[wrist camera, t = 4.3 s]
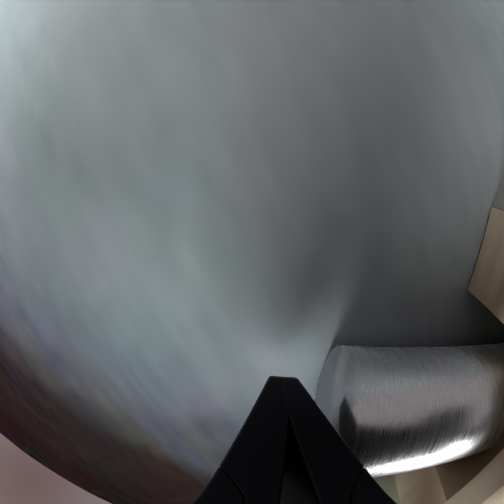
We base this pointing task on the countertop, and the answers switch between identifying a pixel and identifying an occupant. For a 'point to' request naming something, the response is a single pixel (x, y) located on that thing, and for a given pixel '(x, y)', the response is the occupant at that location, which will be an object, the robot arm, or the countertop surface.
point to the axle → (414, 403)
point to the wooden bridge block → (489, 461)
